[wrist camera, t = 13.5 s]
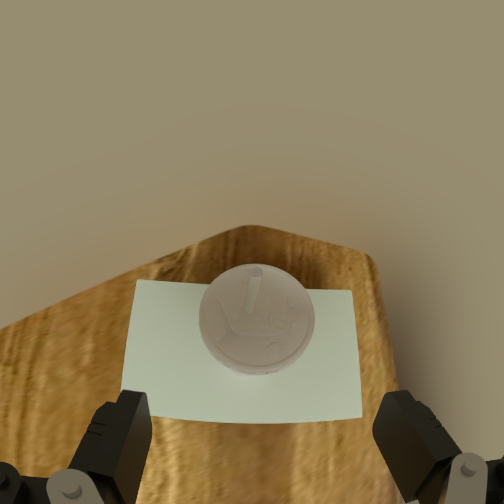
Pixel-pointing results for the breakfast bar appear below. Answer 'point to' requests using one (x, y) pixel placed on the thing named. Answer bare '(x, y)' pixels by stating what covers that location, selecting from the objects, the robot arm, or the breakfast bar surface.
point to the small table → (227, 382)
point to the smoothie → (256, 319)
